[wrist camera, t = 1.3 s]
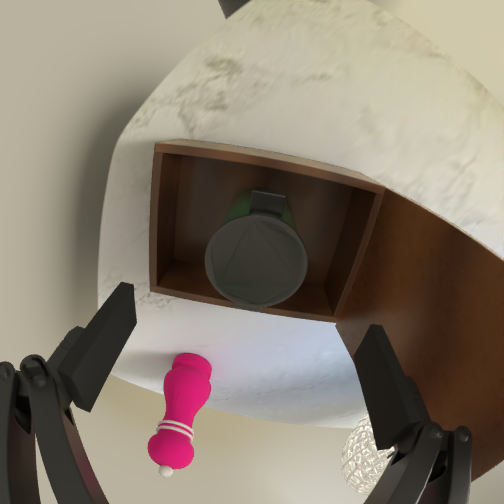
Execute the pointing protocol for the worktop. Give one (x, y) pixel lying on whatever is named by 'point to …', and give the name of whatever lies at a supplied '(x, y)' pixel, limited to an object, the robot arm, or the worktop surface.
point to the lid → (436, 318)
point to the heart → (347, 448)
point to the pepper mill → (180, 412)
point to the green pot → (257, 251)
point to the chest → (234, 182)
